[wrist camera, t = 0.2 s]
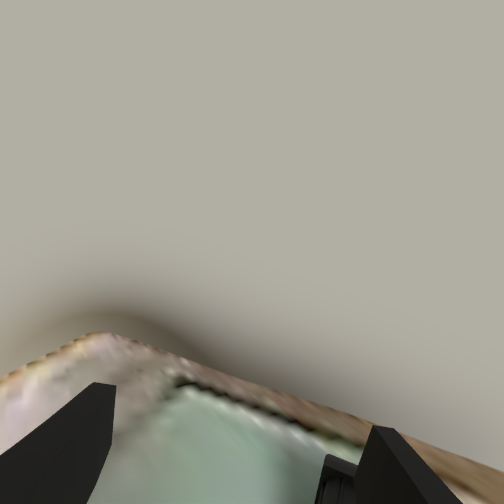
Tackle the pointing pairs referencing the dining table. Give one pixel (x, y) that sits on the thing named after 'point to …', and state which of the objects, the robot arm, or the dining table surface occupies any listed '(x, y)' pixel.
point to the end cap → (336, 482)
